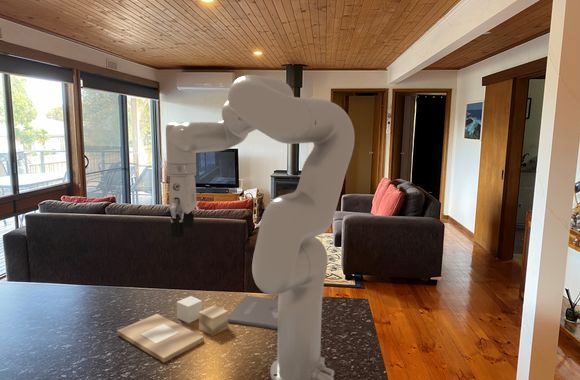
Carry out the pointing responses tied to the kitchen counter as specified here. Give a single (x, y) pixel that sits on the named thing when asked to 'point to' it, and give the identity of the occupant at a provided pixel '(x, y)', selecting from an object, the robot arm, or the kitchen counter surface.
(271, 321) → the play button award
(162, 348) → the base board
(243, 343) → the kitchen counter surface
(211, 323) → the maple block
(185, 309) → the white cube
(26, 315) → the kitchen counter surface
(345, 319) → the kitchen counter surface
